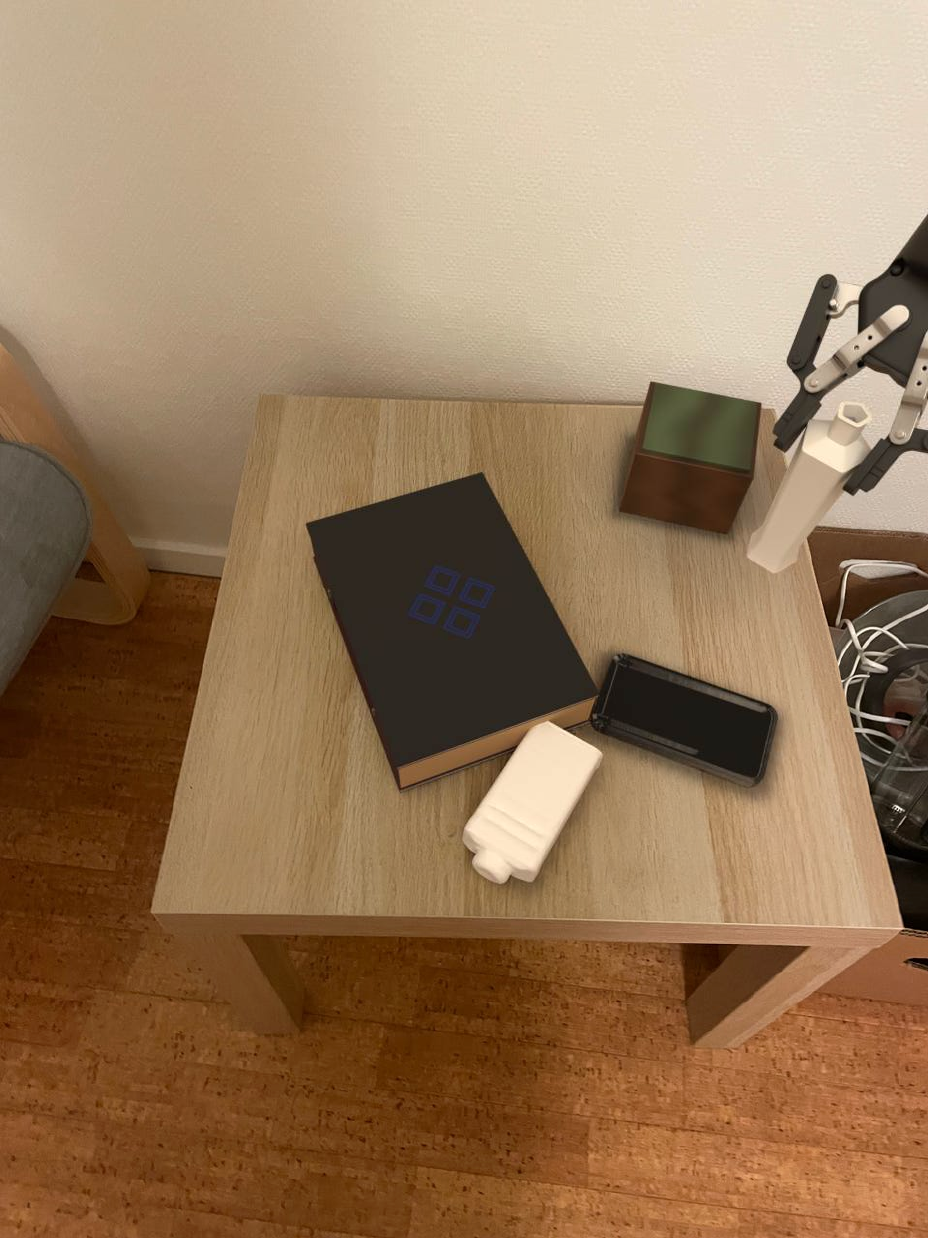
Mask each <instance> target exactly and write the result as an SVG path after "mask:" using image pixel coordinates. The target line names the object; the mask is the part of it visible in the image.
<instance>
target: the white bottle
mask: <svg viewBox="0 0 928 1238" xmlns="http://www.w3.org/2000/svg"><path fill="white" fill-rule="evenodd" d="M603 758H604V757H603V753H602V752H601V750H600V749H599V748H598V747H596V746H594V745H592V744H590V743H587V742H586V741H584V740H583V739H581V738H579V737H577V736H576V735H574V734H572V733H571V732H570V731H568V732H566V731H565V730H562V729H561V728H560V727H558V726H556V725H554V724H553V723H551V722H549V721H547V722H544V723H541V724H538V725H536V726H534V727H532V728H531V729H529V730H528V732H527V733H526V735H525V736H524V738H523V739H522V741H521V742H520V744H519V745H518V747H517V748H516V750H515V751H513V752H512V754H511V756H510V757H509V759H508V760H507V762H506V764H505V766H504V767H503V768H502V770H501V771H500V773H499V774H498V775H497V777H496V779H495V780H494V782H493V784H492V785H491V787H489V790H488V791H487V793H486V794H485V796H484V797H483V799H482V800H481V802H480V803H479V805H478V806H477V808H476V810H475V811H474V812H473V814H472V816H470V818H468V821H467V822H466V824H465V825H464V828H463V833H462V837H461V838H462V839H461V841H462V843H463V844H464V845H465V846H466V847H467V849H468V850H469V851H470V852H472V853H473V854H474V856H473V857H472V860H471V864H472V867H473V868H474V870H475V871H476V872H477V873H478V874H479V875H481V876H482V877H483V878H485V879H487V880H488V881H490V882H492V883H495V884H498V885H502V884H505V883H506V882H507V881H508V879H509V878H510V876H512V877H513V878H515V879H518V880H520V881H524V882H526V883H532V882H534V880H535V879H536V878H537V876H538V875H539V872H540V870H541V867H542V866H543V864H544V862H545V860H546V859H547V857H548V856H549V854H550V851H551V850H552V848H553V846H554V845H555V844H556V841H557V839H558V837H559V836H560V834H561V832H562V831H563V828H564V827H565V825H566V824H567V821H568V820H569V818H570V816H571V815H572V813H573V811H574V809H575V808H576V806H577V804H578V803H579V800H580V799H581V797H582V795H583V793H584V791H585V790H586V788H587V787H588V785H589V782H590V781H591V779H592V777H593V775H594V773H595V772H596V770H597V769H599V768H600V765H601V762H602V760H603Z"/></svg>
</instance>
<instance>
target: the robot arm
mask: <svg viewBox="0 0 928 1238" xmlns="http://www.w3.org/2000/svg"><path fill="white" fill-rule="evenodd" d="M855 305H857V335H855V337H853V338H852V339H850V340H849V341H848V342H847V343H845V344H844V345H843V346H841V347H840V348H839V349H838V350H836V351H835V352H834V353H833V355H832V356H831V357H830V358H829V359H827V361H825V362H823V364H821V365H820V366H819V367H816V366H815V364H814V362H815V360H816V357H817V354H818V352H819V350H820V347H821V345H822V342H823V340H824V337H825V335H826V332H827V330H828V327H829V325H830V322H831V320H836V319H840V318H842V316H843V315H844V314H845V313H846V312H847V310H848V309H849V308H851V307H852V306H855ZM786 365H787V367H788V368H789V369H790V370H791V372H792V374H793V375H795V377H796V379H797V380H798V381H799V385H800V386H799V390H798V392H797V393H796V395H795V397H793V399H792V401H791V402H790V403H789V405H787V407H786V409H785V410H784V412H783V413H782V414H781V415H780V417H779V418H778V420H777V421H776V422H775V424H774V426H773V429H772V434H773V435H774V436H775V437H776V438H775V440H774V442H773V444H772V446H773V447H775V448H776V449H778V450H780V451H781V452H783V453H784V454H786V453H787V452H788V451H789V450H790V449H791V447H792V446H793V445H794V444H795V442H796V441H797V439H798V438H799V437H800V435H802V434H803V433H804V430H805V428H806V426H807V424H808V422H809V420H811V419H814V417H815V416H816V414H818V412H819V411H820V409H821V407H822V406H823V405H822V403H821V401H822V400H823V398H824V397H826V396H827V395H828V394H829V393H830V392H832V391H833V390H835V389H836V388H837V387H839V386H840V385H842V384H843V383H844V382H845V381H847V380H849V379H851V378H853V377H855V375H857V374H859V373H860V372H861V371H862V370H864V369H865V368H868V369H870V370H871V371H874V372H876V373H880V374H883V375H887V376H889V377H890V378H891V379H892V381H894V382H895V384H897V385H898V386H900V387H901V388H903V389H904V391H903V394H902V397H901V400H900V403H899V406H898V409H897V412H896V415H895V417H894V420H893V423H892V426H891V428H890V430H889V433H888V434H887V436H886V437H885V438H882V437H881V438H880V439H878V441H877V442H876V444H875V445H874V446H873V448H871V451H870V453H869V454H868V455H867V456H866V458H865V459H864V460H863V462H862V463H861V464H860V465H859V467H858V468H857V469H856V470H855V472H854V473H853V474H852V476H851V477H850V478H849V479H848V481H847V482H846V483H845V485H844V486H843V488H842V489H843V490H844V492H846V493H847V494H849V495H850V496H852V497H854V496H855V495H856V494H857V493H858V492H859V491H860V490H861V491H862V492H863V493H866V494H867V493H868V492H870V491H872V490H874V489H875V488H876V486H877V485H878V484H879V483H880V481H881V480H882V479H883V478H884V477H885V475H886V474H887V473H888V471H889V470H890V469H891V468H892V466H894V464H895V463H896V462H897V460H898V459H899V458H900V457H901V456H902V455H903V454H905V453H907V452H918V453H923V454H927V455H928V429H923V428H919V427H918V426H919V424H920V421H921V419H922V416H923V414H924V412H925V409H926V407H927V404H928V213H927V214H926V215H925V217H924V218H923V219H922V220H921V222H920V224H919V225H918V226H917V228H915V231H913V233H912V234H911V236H910V237H909V239H908V240H907V242H905V244H904V245H903V247H902V248H901V249H900V251H899V252H898V254H897V255H896V257H894V259H893V261H892V262H891V263H890V264H889V266H888V267H887V268H886V269H885V270H884V271H883V272H882V273H881V274H879V275H878V276H876V277H875V278H874V279H872V280H870V281H868V282H867V283H865V285H860V284H855V283H851V282H846V281H840V280H838V279H837V277H836V276H835V275H834V274H832V273H826V274H823V275H821V276H820V277H819V278H818V279H817V281H816V283H815V286H814V288H813V291H812V293H811V296H810V297H809V301H808V303H807V306H806V309H805V311H804V313H803V316H802V319H801V321H800V324H799V327H798V329H797V332H796V334H795V336H794V340H793V341H792V344H791V347H790V349H789V352H788V355H787V357H786Z"/></svg>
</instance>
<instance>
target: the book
mask: <svg viewBox="0 0 928 1238" xmlns="http://www.w3.org/2000/svg"><path fill="white" fill-rule="evenodd" d="M305 528H306V530H307V533H308V535H309V539H310V542H311V547H312V551H313V555H314V556H312V558H313V562H314V565H315V568H316V570H317V572H318V576H319V578H320V580H321V584H322V586H323V588H324V589H323V590H324V591H325V595H326V597H327V600H328V602H329V605H330V608H331V611H332V614H333V616H334V618H335V622H336V624H337V626H338V629H339V633H340V634H341V637H342V640H343V643H344V646H345V649H346V651H347V654H348V656H349V660H350V662H351V664H352V667H353V670H354V673H355V675H356V678H357V681H358V683H359V686H360V689H361V691H362V695H363V697H364V699H365V702H366V706H367V708H368V710H369V713H370V717H371V718H372V721H373V724H374V727H375V730H376V732H377V735H378V737H379V740H380V744H381V745H382V748H383V751H384V753H385V757H386V759H387V762H388V765H389V767H390V770H391V773H392V776H393V778H394V781H395V783H396V787H397V789H398V792H399V794H402V793H404V792H407V791H409V790H412V789H416V788H418V787H421V786H423V785H426V784H428V783H431V782H435V781H436V780H439V779H442V778H445V777H448V776H451V775H452V774H453V775H454V774H457V773H459V772H461V771H465V770H466V769H470V768H472V767H475V766H477V765H480V764H483V763H486V762H489V761H491V760H494V759H496V758H499V757H502V756H505V755H507V754H510V753H514V751H515V750H516V748H517V747H518V745H519V744H520V742H521V741H522V739H523V738H524V736H525V735H526V733H527V732H528V730H529V729H531V728H532V727H534V726H536V725H538V724H541V723H544V722H547V721H549V722H551V723H553V724H554V725H556V726H558V727H560V728H561V729H562V730H565V731H566V732H571V731H573V730H575V729H578V728H581V727H584V726H587V725H589V724H590V723H591V718H590V716H591V713H592V711H593V710H592V709H593V708H594V707H593V706H594V703H595V701H596V699H598V697H599V695H600V691H599V689H598V687H597V686H596V684H595V682H594V680H593V678H592V676H591V674H590V673H589V670H588V668H587V667H586V664H585V663H584V661H583V659H582V657H581V655H580V654H579V652H578V650H577V648H576V645H575V644H574V643H573V640H572V639H571V637H570V634H569V633H568V630H567V629H566V627H565V625H564V623H563V622H562V620H561V618H560V616H559V614H558V612H557V610H556V608H555V606H554V604H553V602H552V600H551V599H550V597H549V595H548V593H547V590H546V589H545V587H544V585H543V584H542V581H541V580H540V578H539V576H538V575H537V572H536V570H535V569H534V567H533V565H532V562H531V561H530V559H529V557H528V555H527V553H526V552H525V549H524V548H523V545H522V544H521V542H520V540H519V538H518V536H517V535H516V533H515V531H514V529H513V527H512V525H511V523H510V521H509V519H508V518H507V516H506V514H505V512H504V510H503V508H502V506H501V504H500V502H499V500H498V498H497V497H496V494H495V493H494V491H493V489H492V487H491V486H490V484H489V481H488V480H487V478H486V476H485V474H484V472H483V471H480V472H478V473H473V474H471V475H467V476H463V477H460V478H457V479H453V480H449V481H446V482H443V483H439V484H436V485H432V486H429V487H425V488H422V489H419V490H418V489H417V490H415V491H412V492H408V493H404V494H401V495H398V496H394V497H391V498H388V499H384V500H380V501H376V502H374V503H370V504H367V505H363V506H360V507H357V508H353V509H349V510H346V511H343V512H340V513H336V514H332V515H329V516H325V517H322V518H318V519H315V520H312V521H308V522H306V523H305Z"/></svg>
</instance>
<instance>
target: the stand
mask: <svg viewBox="0 0 928 1238" xmlns="http://www.w3.org/2000/svg"><path fill="white" fill-rule="evenodd" d="M762 405H763V403H762V402H759V401H755V400H749V399H744V398H739V397H733V396H728V395H724V394H719V393H713V392H708V391H704V390H698V389H693V388H687V387H683V386H678V385H672V384H667V383H662V382H657V381H652V380H651V381H650V382H649V384H648V387H647V392H646V396H645V399H644V403H643V406H642V411H641V414H640V418H639V421H638V424H637V429H636V432H635V436H634V439H633V444H632V449H631V454H630V457H629V463H628V467H627V473H626V477H625V480H624V481H625V482H624V486H623V491H622V496H621V500H620V504H619V512H621V513H626V514H631V515H635V516H640V517H645V518H650V519H654V520H658V521H664V522H668V523H673V524H677V525H682V526H687V527H691V528H695V529H700V530H705V531H709V532H715V533H719V534H724V535H728V534H729V532H730V530H731V527H732V525H733V523H734V521H735V519H736V516H737V514H738V512H739V510H740V508H741V506H742V503H743V501H744V500H745V497H746V495H747V493H748V491H749V489H750V487H751V485H752V482H753V480H754V478H755V472H756V471H755V469H756V461H757V450H758V443H759V433H760V432H759V431H760V423H761V413H762V407H763V406H762Z"/></svg>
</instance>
